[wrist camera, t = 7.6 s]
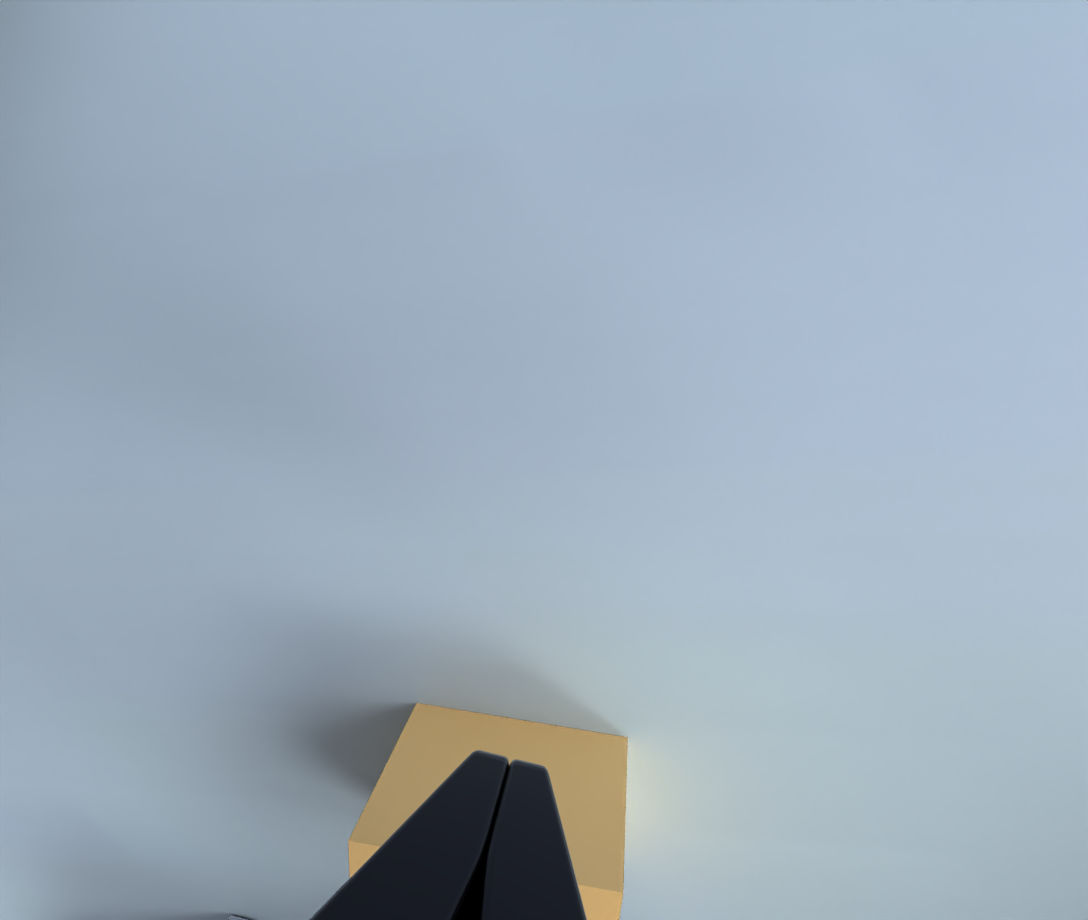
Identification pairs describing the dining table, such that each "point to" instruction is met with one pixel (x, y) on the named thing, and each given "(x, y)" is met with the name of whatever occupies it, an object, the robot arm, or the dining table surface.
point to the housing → (235, 918)
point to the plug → (568, 755)
